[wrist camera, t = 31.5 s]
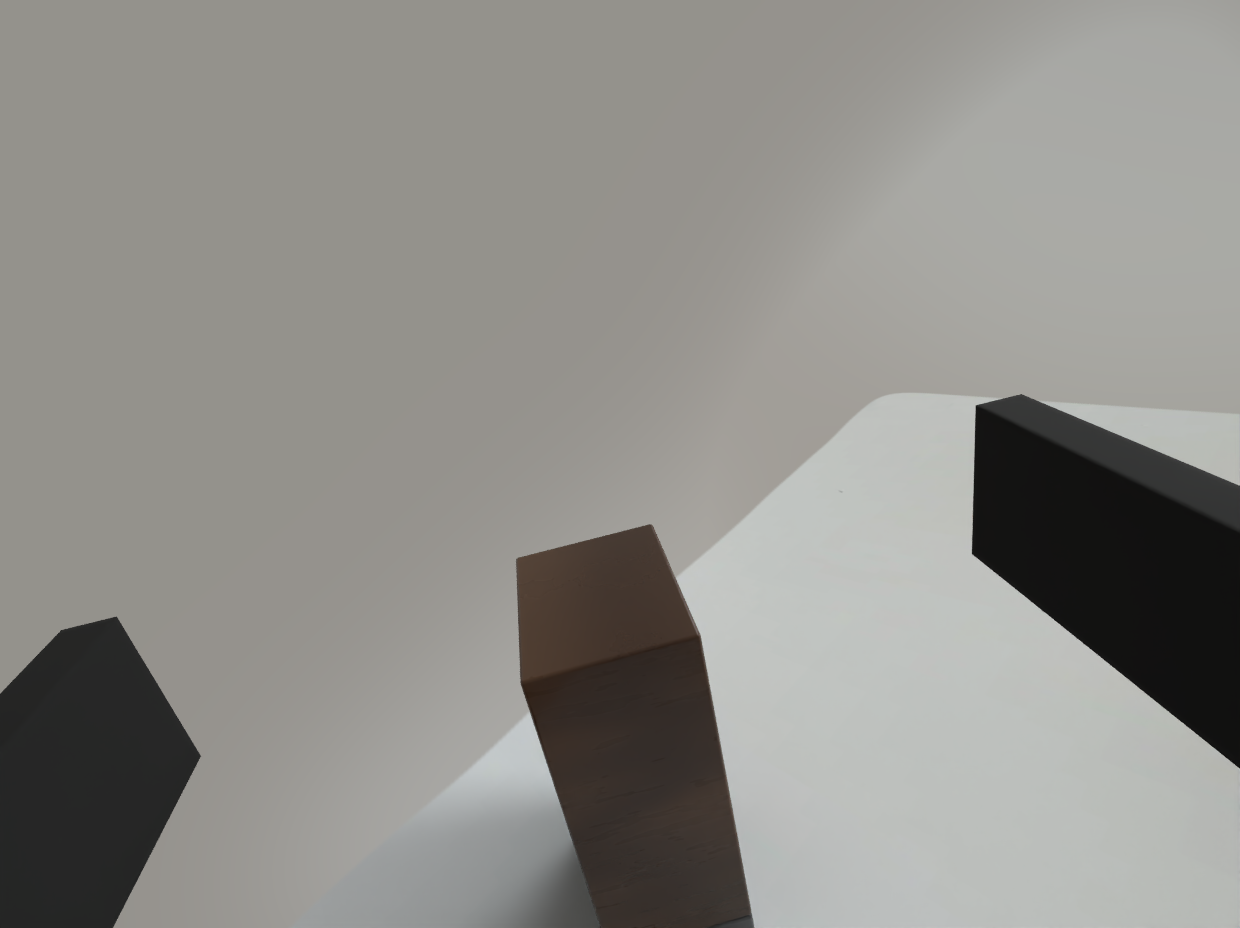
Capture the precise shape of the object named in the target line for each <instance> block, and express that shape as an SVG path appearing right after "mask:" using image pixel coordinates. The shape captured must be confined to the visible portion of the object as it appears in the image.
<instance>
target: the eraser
mask: <svg viewBox="0 0 1240 928" xmlns="http://www.w3.org/2000/svg"><path fill="white" fill-rule="evenodd" d="M516 567H517V568H516V569H517V595H518V624H519V649H520V677H521V686H522V689H523V692H524V695H525V698H526V701H527V704H528V707H529V710H530V713H531V716H532V719H533V723H534V726H535V729H536V732H537V735H538V738H539V741H540V744H541V747H542V750H543V753H544V756H545V759H546V762H547V765H548V768H549V771H550V774H551V777H552V781H553V784H554V787H555V790H556V793H557V796H558V799H559V802H560V805H561V808H562V811H563V814H564V817H565V820H566V823H567V826H568V829H569V832H570V835H571V838H572V842H573V845H574V848H575V851H576V854H577V857H578V860H579V863H580V866H581V869H582V872H583V875H584V878H585V881H586V884H587V887H588V890H589V893H590V896H591V899H592V903H593V906H594V909H595V912H596V915H597V918H598V921H599V924H600V927H601V928H754V923H753V918H752V913H751V907H750V901H749V896H748V891H747V885H746V880H745V874H744V869H743V863H742V858H741V853H740V847H739V842H738V836H737V831H736V825H735V820H734V815H733V809H732V804H731V798H730V793H729V787H728V782H727V777H726V771H725V766H724V760H723V755H722V749H721V744H720V739H719V733H718V728H717V722H716V717H715V711H714V706H713V701H712V695H711V690H710V684H709V679H708V673H707V668H706V663H705V657H704V652H703V646H702V641H701V636H700V633H699V631H698V629H697V626H696V624H695V622H694V619H693V617H692V615H691V613H690V610H689V608H688V606H687V603H686V601H685V599H684V596H683V594H682V592H681V590H680V587H679V585H678V583H677V580H676V578H675V576H674V574H673V571H672V569H671V567H670V564H669V562H668V560H667V557H666V555H665V553H664V550H663V548H662V546H661V544H660V541H659V539H658V537H657V534H656V532H655V530H654V527H653V526H652V525H646V526H642V527H638V528H634V529H630V530H626V531H622V532H618V533H614V534H610V535H606V536H602V537H599V538H594V539H590V540H586V541H583V542H578V543H575V544H571V545H567V546H563V547H559V548H555V549H551V550H547V551H543V552H539V553H535V554H531V555H528V556H524V557H519V558H518V559H516Z"/></svg>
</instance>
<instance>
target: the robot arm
mask: <svg viewBox="0 0 1240 928" xmlns="http://www.w3.org/2000/svg"><path fill="white" fill-rule="evenodd" d="M972 554H973V555H974V556H975V557H976V558H978V559H979V560H980V561H981V562H983V563H984V564H985V565H986V566H988V567H989V568H990V569H991V570H993V571H994V572H995V573H996V574H998V575H999V576H1000V577H1001V578H1003V579H1004V580H1005V581H1006V582H1008V583H1009V584H1010V585H1011V586H1013V587H1014V588H1015V589H1016V590H1018V591H1019V592H1020V593H1021V594H1023V595H1024V596H1025V597H1026V598H1028V599H1029V600H1030V601H1031V602H1033V603H1034V604H1035V605H1036V606H1038V607H1039V608H1040V609H1041V610H1043V611H1044V612H1045V613H1046V614H1048V615H1049V616H1050V617H1051V618H1053V619H1054V620H1055V621H1056V622H1058V623H1059V624H1060V625H1061V626H1063V627H1064V628H1065V629H1066V630H1068V631H1069V632H1070V633H1071V634H1073V635H1074V636H1075V637H1076V638H1078V639H1079V640H1080V641H1081V642H1083V643H1084V644H1085V645H1086V646H1088V647H1089V648H1090V649H1091V650H1093V651H1094V652H1095V653H1096V654H1098V655H1099V656H1100V657H1101V658H1103V659H1104V660H1105V661H1106V662H1108V663H1109V664H1110V665H1111V666H1112V667H1114V668H1115V669H1116V670H1117V671H1119V672H1120V673H1121V674H1122V675H1124V676H1125V677H1126V678H1127V679H1129V680H1130V681H1131V682H1132V683H1134V684H1135V685H1136V686H1137V687H1139V688H1140V689H1141V690H1142V691H1144V692H1145V693H1146V694H1147V695H1149V696H1150V697H1151V698H1152V699H1154V700H1155V701H1156V702H1157V703H1159V704H1160V705H1161V706H1162V707H1164V708H1165V709H1166V710H1167V711H1169V712H1170V713H1171V714H1172V715H1174V716H1175V717H1176V718H1177V719H1179V720H1180V721H1181V722H1182V723H1184V724H1185V725H1186V726H1187V727H1189V728H1190V729H1191V730H1192V731H1194V732H1195V733H1196V734H1197V735H1199V736H1200V737H1201V738H1202V739H1204V740H1205V741H1206V742H1207V743H1209V744H1210V745H1211V746H1212V747H1214V748H1215V749H1216V750H1217V751H1219V752H1220V753H1221V754H1222V755H1224V756H1225V757H1226V758H1227V759H1229V760H1230V761H1231V762H1232V763H1234V764H1235V765H1236V766H1237V767H1239V768H1240V486H1239V485H1236V484H1234V483H1231V482H1229V481H1227V480H1224V479H1222V478H1220V477H1217V476H1215V475H1212V474H1210V473H1208V472H1205V471H1203V470H1201V469H1198V468H1196V467H1193V466H1191V465H1189V464H1186V463H1184V462H1181V461H1179V460H1177V459H1174V458H1172V457H1170V456H1167V455H1165V454H1162V453H1160V452H1158V451H1155V450H1153V449H1150V448H1148V447H1146V446H1143V445H1141V444H1139V443H1136V442H1134V441H1131V440H1129V439H1127V438H1124V437H1122V436H1120V435H1117V434H1115V433H1112V432H1110V431H1108V430H1105V429H1103V428H1100V427H1098V426H1096V425H1093V424H1091V423H1089V422H1086V421H1084V420H1081V419H1079V418H1077V417H1074V416H1072V415H1069V414H1067V413H1065V412H1062V411H1060V410H1058V409H1055V408H1053V407H1050V406H1048V405H1046V404H1043V403H1041V402H1039V401H1036V400H1034V399H1031V398H1029V397H1027V396H1024V395H1022V394H1021V395H1016V396H1013V397H1008V398H1004V399H1000V400H996V401H992V402H988V403H984V404H980V405H976V418H975V457H974V496H973V535H972ZM200 757H201V756H200V754H199V752H198V751H197V749H196V747H195V746H194V744H193V743H192V741H191V739H190V737H189V736H188V734H187V732H186V731H185V729H184V728H183V726H182V724H181V723H180V721H179V719H178V718H177V716H176V714H175V713H174V711H173V709H172V708H171V706H170V704H169V703H168V701H167V699H166V698H165V696H164V694H163V693H162V691H161V689H160V688H159V686H158V684H157V683H156V681H155V679H154V678H153V676H152V675H151V673H150V671H149V669H148V668H147V666H146V664H145V663H144V661H143V660H142V658H141V656H140V655H139V653H138V651H137V650H136V648H135V646H134V645H133V643H132V641H131V640H130V638H129V636H128V635H127V633H126V631H125V630H124V628H123V626H122V625H121V623H120V621H119V620H118V618H117V617H113V618H110V619H105V620H101V621H97V622H93V623H89V624H85V625H81V626H76V627H72V628H68V629H64V630H61V631H60V633H58V634H57V636H55V637H54V638H53V640H52V641H51V642H50V643H49V644H48V645H47V646H46V647H45V648H44V649H43V650H42V651H41V652H40V653H39V654H38V655H37V656H36V657H35V658H34V659H33V660H32V661H31V662H30V663H29V664H28V665H27V667H26V668H25V669H24V670H23V671H22V672H21V673H20V674H19V675H18V676H17V677H16V678H15V679H14V680H13V681H12V682H11V683H10V684H9V685H8V686H7V688H5V689H4V690H3V692H2V693H1V694H0V928H113V926H114V924H115V923H116V921H117V919H118V916H119V915H120V913H121V911H122V909H123V907H124V905H125V903H126V901H127V899H128V897H129V895H130V893H131V891H132V889H133V887H134V885H135V884H136V882H137V880H138V878H139V876H140V874H141V872H142V870H143V868H144V866H145V864H146V862H147V860H148V858H149V856H150V854H151V852H152V850H153V848H154V846H155V845H156V842H157V840H158V838H159V837H160V835H161V833H162V831H163V829H164V827H165V825H166V823H167V821H168V819H169V817H170V815H171V813H172V811H173V809H174V807H175V806H176V804H177V802H178V800H179V798H180V796H181V794H182V792H183V790H184V788H185V786H186V784H187V782H188V780H189V778H190V776H191V774H192V772H193V770H194V768H195V766H196V765H197V762H198V761H199V759H200Z"/></svg>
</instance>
